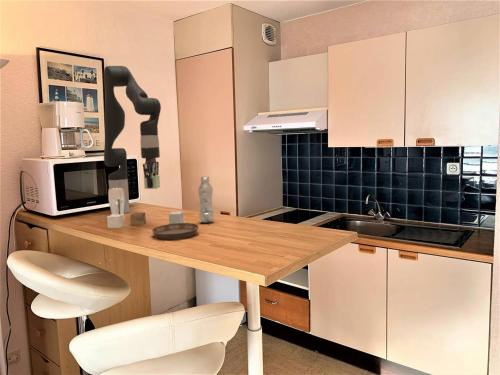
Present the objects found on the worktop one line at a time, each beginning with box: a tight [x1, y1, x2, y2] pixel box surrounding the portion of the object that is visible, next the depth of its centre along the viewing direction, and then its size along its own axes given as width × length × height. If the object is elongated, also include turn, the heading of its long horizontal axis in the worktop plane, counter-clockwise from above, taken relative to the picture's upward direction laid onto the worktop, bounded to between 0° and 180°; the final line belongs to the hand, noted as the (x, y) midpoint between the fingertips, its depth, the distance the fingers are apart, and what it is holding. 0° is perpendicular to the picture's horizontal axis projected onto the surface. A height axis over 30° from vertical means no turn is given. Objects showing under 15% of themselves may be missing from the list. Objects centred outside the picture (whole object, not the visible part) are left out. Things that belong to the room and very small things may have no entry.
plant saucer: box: [151, 222, 200, 240], centre depth 152 cm, size 18×18×3 cm
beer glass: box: [107, 188, 126, 222], centre depth 182 cm, size 7×7×15 cm
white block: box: [106, 214, 125, 229], centre depth 170 cm, size 5×5×5 cm
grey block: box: [168, 211, 185, 224], centre depth 172 cm, size 5×5×5 cm
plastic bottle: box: [197, 176, 215, 224], centre depth 172 cm, size 6×7×20 cm
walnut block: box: [129, 212, 147, 227], centre depth 173 cm, size 5×5×5 cm
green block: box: [143, 175, 161, 190], centre depth 167 cm, size 5×5×5 cm
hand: (152, 186), depth 167 cm, fingers closed on green block, 5 cm apart
